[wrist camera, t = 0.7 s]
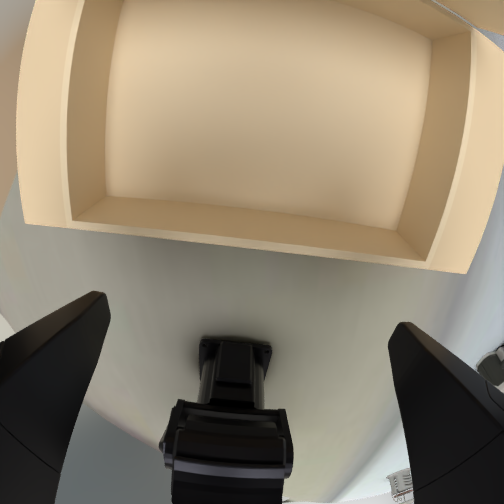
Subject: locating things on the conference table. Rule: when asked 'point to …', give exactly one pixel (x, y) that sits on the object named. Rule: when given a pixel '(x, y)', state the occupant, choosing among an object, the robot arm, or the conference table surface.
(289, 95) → the carton
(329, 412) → the conference table surface
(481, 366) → the camera
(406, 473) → the french press
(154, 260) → the conference table surface
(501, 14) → the kraft flap
